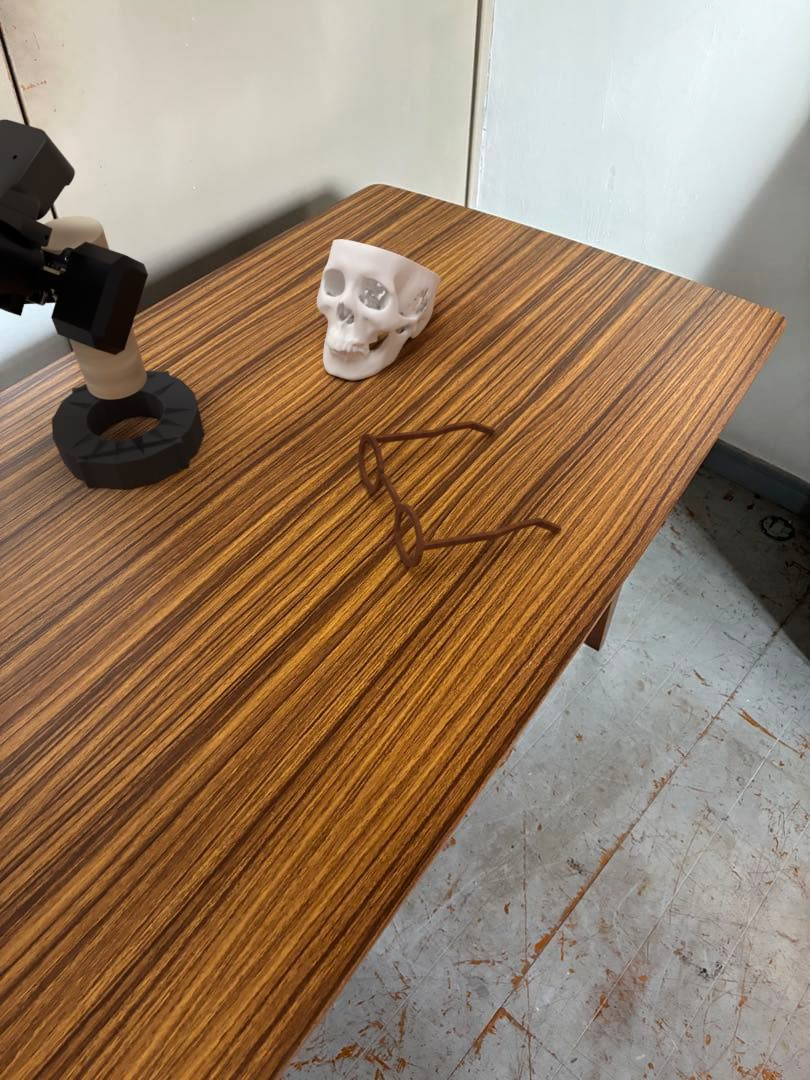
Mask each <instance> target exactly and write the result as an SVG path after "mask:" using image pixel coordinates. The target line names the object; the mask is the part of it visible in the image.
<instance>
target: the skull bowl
mask: <svg viewBox="0 0 810 1080" xmlns="http://www.w3.org/2000/svg"><path fill="white" fill-rule="evenodd" d="M441 281H442V279H441V277H440V275H438V274H437V273H436V272H434V271H432V270H431V269H429V268H427V267H426V266H423V265H421V264H419V263H417V262H415V261H414V260H412V259H409V258H407V257H405V256H403V255H400V254H398V253H395V252H393V251H390V250H388V249H384V248H381V247H378V246H374V245H371V244H367V243H362V242H358V241H354V240H350V239H342V238H339V239H333V240H332V244H331V247H330V251H329V256H328V259H327V263H326V265H325V266H324V268H323V271H322V275H321V281H320V285H319V290H318V293H317V297H316V307H317V310H318V311H319V312H320V313H321V314H323V315H324V316H325V317H326V320H327V328H326V334H325V339H324V344H323V350H322V362H323V368H324V370H325V371H326V372H327V373H328V374H329V375H330V376H335V377H338V378H341V379H342V380H343V379H344V380H347V381H359V380H363V379H367V378H370V377H372V376H375V375H377V374H378V373H379V372H382V370H384V369H385V368H386V367H388V366H390V365H391V364H392V363H393V362H395V360H396V359H397V357H398V355H399V354H400V351H401V350H402V348H403V347H404V345H405V343H406V342H407V341H408V339H409V338H410V339H415V338H416V337H418V336H420V334H421V332H422V331H423V330H424V329H425V328H426V326H427V325H428V323H429V322H430V319H431V317H432V315H433V311H434V307H435V301H436V296H437V293H438V290H439V287H440V285H441ZM402 330H403V331H402ZM383 333H388V335H387V337H385V339H384V340H383V342H382V343H381V344H380V345H379V347H377V348H376V349H370V345H371V344H373V343H377V342H378V336H379V335H380V334H383Z"/></svg>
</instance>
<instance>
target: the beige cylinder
mask: <svg viewBox="0 0 810 1080" xmlns="http://www.w3.org/2000/svg"><path fill="white" fill-rule="evenodd" d="M43 224H44V225H46V226H48V227H50V228H52V233H51V236H50V239H49V243H48V246H47V247H43V246H42V247H41V249H44V250H47V251H50V252H52V253H55V254H60V253H61V251H62V250H63V249H65V248H67V247H70V248H73V249H75V248H76V247H78V246H79V245H81V244H82V243H84V242H89V243H92V244H95V245H98V246H101V247H104V248H106V249H109V250H110V247H109V243H108V240H107V236H106V233H105V230H104V226H103V225H102V223H101V222H100V221H99V220H97V219H95V218H92V217H90V216H83V215H71V216H62V217H59V218H55V219H52V220H50V221H47V222H45V223H43ZM61 269H62V270H65V269H63V268H61ZM44 270H46V271H49V272H52V273H55V274H57V275H59V273H60V271H57V270H54V269H51V268H48V267H45V266H44ZM51 291H52V294H53V293H54V290H53V289H51ZM54 299H55V302H56V299H57V298H54ZM68 339H69V338H68ZM69 342H70V345H71V347H72V350H73V353H74V356H75V358H76V361H77V364H78V366H79V369H80V372H81V374H82V377H83V380H84V382H85V384H86V385H87V388H88V390H89V392H90V393H91V394H92V395H94V396H96V397H98V398H102V399H120V398H124V397H127V396H130V395H132V394H134V393H136V392H137V391H139V390H140V389H141V388H142V387H143V386H144V384H145V383H146V380H147V374H146V371H147V370H146V368H145V364H144V361H143V357H142V354H141V351H140V347H139V344H138V340H137V337H136V334H135V330H134V327H133V326H132V328H131V331H130V334H129V337H128V340H127V343H126V347H125V350H123V351H122V352H120V353H118V354H117V355H113V354H110V353H106V352H103V351H100V350H97V349H94V348H91V347H89V346H86V345H84V344H81V343H79V342H76V341H74V340H71V339H69Z"/></svg>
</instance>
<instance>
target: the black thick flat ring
mask: <svg viewBox="0 0 810 1080" xmlns="http://www.w3.org/2000/svg"><path fill="white" fill-rule="evenodd" d="M146 374H147V380H146V383H145V384H144V386H143V387H142V388H141V389H140V390H139V391H137V392H136V393H134V394H132V395H130V396H127V397H124V398H120V399H102V398H98V397H96V396H94V395H92V394H91V393H90V392H89V390H88V388H87V385H86V383H85V384H82V385H80V386H78V387H72V388H71V393H70V394H69V395H68V396H67V397H66V398H64V399H63V400H62V401H61V402H60V404H59V406H58V408H57V409H56V411H55V413H54V415H53V417H52V418H51V431H52V434H51V435H52V439H53V442H54V444H55V446H56V449H57V451H58V453H59V455H60V457H61V459H62V462H63V464H64V465H65V467H66V468H67V469H68V470H69V471H70V473H71V474H72V475H73V476H74V477H75V478H76V480H79V481H81V482H83V483H85V484H86V487H87V489H92V488H100V489H115V490H128V489H129V490H130V489H134V488H138V487H144V486H148V485H153V484H157V483H159V482H160V481H163V480H165V479H166V478H169V477H170V476H172V475H174V474H176V473H179V472H180V471H181V470H182V469H188V468H190V463H189V462H190V461H191V460H192V459H193V458H194V457H195V456H196V455H197V454H198V453H199V450H200V447H201V444H202V442H203V439H204V436H205V430H204V426H203V423H202V417H201V414H200V413H201V412H200V410H199V406H198V402H197V397H196V394H195V392H194V390H193V389H191V388H190V387H189V386H188V385H187V384H186V383H185V382H184V381H183V380H182V379H180V378H178V377H175V376H173V375H170V371H169V370H163V371H157V370H146ZM138 416H140V417H141V416H142V417H153V418H155V419H157V420H159V422H157V423H156V424H155V425H154V426H153V427H152V428H150V429H149V430H147V431H145V432H143V433H141V434H139V435H137V436H135V437H128V438H124V439H111V438H104V437H102V436H101V434H102V433H103V432H104V431H105V430H106V429H107V428H108V427H110V426H111V425H113V424H115V423H117V422H119V421H121V420H123V419H128V418H134V417H138Z"/></svg>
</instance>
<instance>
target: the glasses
mask: <svg viewBox="0 0 810 1080" xmlns="http://www.w3.org/2000/svg"><path fill="white" fill-rule="evenodd" d="M468 429H470V430H473V431H476V432H479V433H482V434H486V435H489V436H493V434H494V433H496V429H495V427H492V426H488V425H487V424H483V423H480V422H476V421H473V420H468V421H461V422H455V423H454V422H453V423H450V424H446V425H443V426H440V427H436V428H432V429H431V428H430V429H423V430H413V431H403V432H395V433H386V434H376V435H373V434H372V433H363V434H362V435H361V437H360V440H359V443H358V449H357V462H358V470H359V474H360V478H361V481H362V483H363V485H364V487H365V489H366V490H367V491H368V492H369V493H371V494H375V493H378V492H379V491H380V489H381V487H382V484H383V485H384V487H385V489H386V491H387V493H388V495H389V497H390V499H391V501H392V503H393V506H394V509H395V513H394V520H393V538H394V542H395V545H396V550H397V552H398V555H399V557H400V559H401V560H402V562H403V563H404V566H406V567H408V568H410V569H411V568H412V569H413V568H416V567H418V566H420V564H421V562H422V559H423V556H424V552H425V551H426V552H427V551H431V550H432V551H433V550H437V549H438V550H439V549H443V548H449V547H455V546H456V547H457V546H460V545H461V546H462V545H467V544H474V543H478V542H485V541H491V540H496V539H499V538H501V537H504V536H506V535H509V534H511V533H513V532H516V531H519V530H524V529H528V528H531V527H534V526H535V527H539V528H540V529H544V530H546V531H549V532H552V533H554V534H557V533H559V532H561V531H562V530H563V529H562V526H561V525H559V524H557V523H555V522H552V521H549V520H546V519H545V518H542V517H536V518H529V519H525V520H520V521H516V522H513V523H511V524H508V525H505V526H503V527H500V528H497V529H494V530H488V531H482V532H477V533H470V534H464V535H463V534H462V535H457V536H451V537H446V538H445V537H444V538H440V539H439V538H438V539H434V540H426V541H425V540H424V532H423V527H422V524H421V520H420V518H419V516H418V514H417V512H416V510H415V509H414V507H412V505H410V504H409V503H405V502H402V503H401V499H400V496H399V493H398V491H397V490H396V487H395V486H394V484H393V482H392V481H391V478H390V477H389V475H388V474H386V473H385V463H384V459H383V458H384V457H383V453H382V450H381V447H380V444H385V443H393V442H394V443H395V442H403V441H412V440H413V441H414V440H421V439H429V438H436V437H439V436H442V435H445V434H449V433H451V432H457V431H463V430H468ZM368 445H370V446H371V448H372V450H373V453H374V456H375V461H376V475H375V476H376V477H375V480H374V483H372V482H371V480H370V478H369V476H368V472H367V469H366V462H365V455H366V453H365V452H366V448H367V446H368ZM404 514H407V516H408V517H409V519H410V521H411V523H412V525H413V529H414V533H415V552H414V555H413V557H412V558H411V556H409V554H408V552H407V550H406V548H405V544H403V543H404V542H403V538H402V521H403V516H404Z"/></svg>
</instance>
